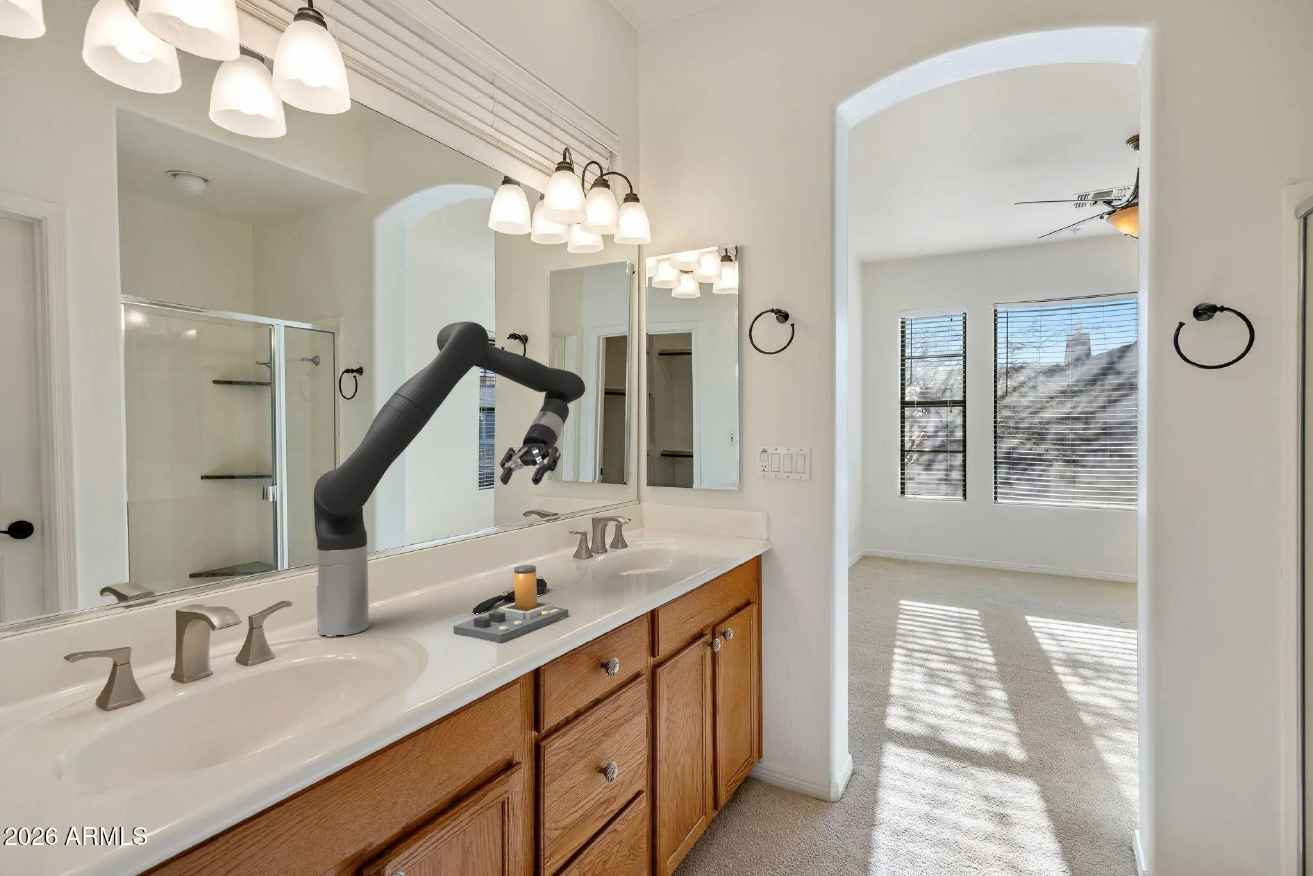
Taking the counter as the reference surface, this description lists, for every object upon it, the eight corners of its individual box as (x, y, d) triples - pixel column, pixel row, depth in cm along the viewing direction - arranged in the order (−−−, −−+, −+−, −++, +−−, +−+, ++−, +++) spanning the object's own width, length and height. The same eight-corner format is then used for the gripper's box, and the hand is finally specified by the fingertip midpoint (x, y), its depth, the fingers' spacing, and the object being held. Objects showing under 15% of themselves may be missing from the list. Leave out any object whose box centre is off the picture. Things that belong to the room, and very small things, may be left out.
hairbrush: (458, 602, 139) (527, 573, 162) (459, 618, 139) (528, 587, 162) (487, 605, 136) (554, 576, 158) (488, 622, 136) (554, 590, 158)
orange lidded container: (510, 612, 132) (509, 568, 132) (525, 607, 136) (524, 564, 136) (526, 615, 130) (525, 570, 130) (541, 610, 134) (540, 566, 134)
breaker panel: (453, 633, 124) (453, 617, 124) (523, 609, 141) (523, 595, 141) (500, 643, 117) (500, 626, 117) (568, 616, 134) (568, 601, 134)
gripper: (513, 423, 155) (485, 472, 144) (563, 421, 149) (538, 471, 139) (525, 444, 159) (500, 492, 149) (574, 443, 154) (551, 493, 143)
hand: (518, 482), depth 144 cm, fingers open, 8 cm apart
